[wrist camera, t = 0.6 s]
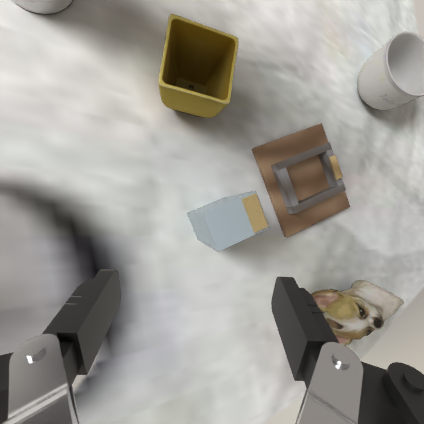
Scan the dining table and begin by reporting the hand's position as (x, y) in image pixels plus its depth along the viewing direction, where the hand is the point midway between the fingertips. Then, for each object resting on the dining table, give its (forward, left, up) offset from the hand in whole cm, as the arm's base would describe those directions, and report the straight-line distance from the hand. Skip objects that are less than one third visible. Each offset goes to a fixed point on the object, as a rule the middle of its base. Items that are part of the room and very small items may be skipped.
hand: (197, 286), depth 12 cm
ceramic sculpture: (+24, +23, -24) cm, 41 cm away
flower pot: (-19, +11, -24) cm, 33 cm away
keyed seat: (0, +25, -24) cm, 35 cm away
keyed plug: (0, +7, -24) cm, 25 cm away
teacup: (-11, +48, -24) cm, 55 cm away
